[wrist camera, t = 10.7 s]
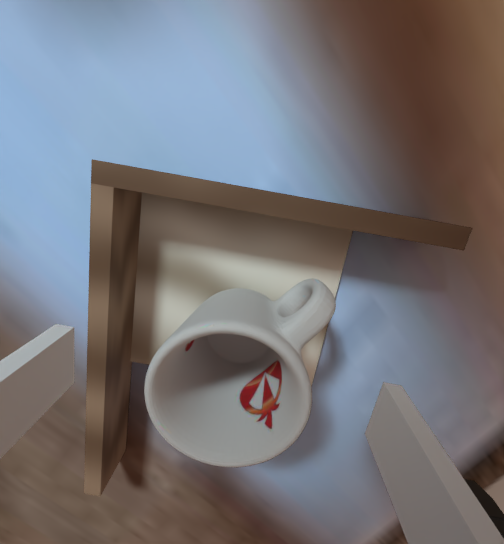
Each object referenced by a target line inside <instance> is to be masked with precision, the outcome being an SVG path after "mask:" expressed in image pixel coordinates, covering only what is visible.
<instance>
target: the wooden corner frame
mask: <svg viewBox="0 0 504 544" xmlns="http://www.w3.org/2000/svg"><path fill="white" fill-rule="evenodd" d="M471 230H472V228H470V227H464V226H459V225H453V224H448V223H442V222H437V221H431V220H426V219H420V218H414V217H409V216H403V215H398V214H392V213H387V212H381V211H375V210H370V209H364V208H359V207H353V206H348V205H342V204H337V203H331V202H325V201H320V200H314V199H309V198H303V197H298V196H292V195H287V194H281V193H275V192H270V191H264V190H259V189H253V188H248V187H242V186H237V185H231V184H225V183H220V182H214V181H209V180H203V179H198V178H192V177H186V176H181V175H175V174H170V173H164V172H159V171H153V170H148V169H142V168H136V167H131V166H125V165H120V164H114V163H109V162H103V161H98V160H92V171H91V215H90V259H89V303H88V347H87V391H86V434H85V478H84V494H90V495H95V496H101V494H102V492H103V491H104V489H105V487H106V485H107V483H108V481H109V480H110V478H111V476H112V474H113V472H114V471H115V469H116V467H117V465H118V463H119V461H120V460H121V458H122V456H123V454H124V452H125V450H126V440H127V426H128V412H129V397H130V383H131V369H132V362H137V363H142V364H148V365H150V363H151V361H152V359H153V357H154V355H155V354H156V352H157V351H158V349H159V348H160V347H161V346H162V344H163V343H164V342H165V341H166V340H167V339H168V338H169V337H170V336H171V335H172V334H173V333H174V332H175V331H176V330H177V329H178V328H179V327H180V326H181V325H182V324H183V323H184V321H185V320H186V319H187V318H188V317H189V316H190V315H191V314H192V313H193V312H194V311H195V310H196V309H197V308H198V307H199V306H200V305H201V304H202V303H203V302H204V301H205V300H207V299H208V298H209V297H211V296H213V295H214V294H216V293H218V292H221V291H224V290H228V289H234V288H243V289H250V290H253V291H257V292H259V293H261V294H263V295H265V296H266V297H268V298H269V299H271V300H272V301H275V300H277V299H279V298H280V297H281V296H283V295H284V294H285V293H286V292H287V291H288V290H290V289H291V288H292V287H294V286H295V285H296V284H298V283H299V282H301V281H303V280H306V279H310V278H314V279H318V280H320V281H321V282H323V283H324V284H325V285H326V286H327V287H328V288H329V290H330V291H331V292H332V293H333V296H334V298H335V296H336V293H337V289H338V285H339V281H340V278H341V274H342V270H343V266H344V263H345V259H346V255H347V251H348V248H349V244H350V240H351V236H352V233H353V231H359V232H364V233H370V234H375V235H381V236H387V237H392V238H398V239H403V240H409V241H414V242H420V243H425V244H431V245H437V246H442V247H448V248H453V249H459V250H464V249H465V246H466V244H467V241H468V238H469V236H470V233H471ZM328 323H329V322H328ZM327 326H328V324H327V325H326V326H325V327H324V328H323V329H322V330H321V331H320V332H319V333H318V334H317V335H316V336H315V337H313V338H312V339H311V340H310V341H309V342H308V343H306V344H305V345H304V347H303V348H302V350H301V356H302V359H303V362H304V365H305V367H306V370H307V372H308V375H309V379H310V383H311V386H312V383H313V379H314V375H315V371H316V368H317V364H318V360H319V356H320V353H321V349H322V345H323V341H324V338H325V334H326V330H327Z"/></svg>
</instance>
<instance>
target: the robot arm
mask: <svg viewBox="0 0 504 544" xmlns="http://www.w3.org/2000/svg"><path fill="white" fill-rule="evenodd" d="M74 382H75V370H74V327H70V326H64V325H58V324H55V325H54V326H52V327H51V328H49V329H48V330H46V331H45V332H43V333H42V334H40V335H39V336H37V337H36V338H34V339H33V340H31V341H30V342H28V343H27V344H25V345H24V346H22V347H21V348H19V349H18V350H16V351H15V352H13V353H12V354H10V355H9V356H7V357H6V358H4V359H3V360H1V361H0V459H1V458H2V457H3V456H4V455H5V454H6V453H7V451H8V450H9V449H10V448H11V447H12V446H13V445H14V444H15V443H16V442H17V441H18V440H19V439H20V438H21V437H22V436H23V435H24V434H25V433H26V432H27V431H28V430H29V429H30V428H31V427H32V426H33V425H34V424H35V423H36V422H37V421H38V420H39V418H40V417H41V416H42V415H43V414H44V413H45V412H46V411H47V410H48V409H49V408H50V407H51V406H52V405H53V404H54V403H55V402H56V401H57V400H58V399H59V398H60V397H61V396H62V395H63V394H64V393H65V392H66V391H67V390H68V389H69V388H70V386H71V385H72V384H73V383H74ZM365 435H366V438H367V441H368V443H369V446H370V448H371V451H372V453H373V456H374V458H375V461H376V463H377V466H378V469H379V471H380V474H381V476H382V479H383V481H384V484H385V486H386V489H387V491H388V494H389V497H390V499H391V502H392V504H393V507H394V509H395V512H396V514H397V517H398V519H399V522H400V525H401V527H402V530H403V532H404V535H405V537H406V540H407V542H408V544H504V514H503V512H502V511H501V510H500V509H499V507H498V506H497V504H496V503H495V501H494V500H493V499H492V498H491V497H490V496H489V495H488V494H487V493H486V492H485V491H484V490H483V489H482V488H481V487H480V486H479V485H478V484H477V483H476V482H475V481H473V480H467V479H463V477H462V476H461V474H460V473H459V471H458V470H457V468H456V467H455V465H454V464H453V462H452V461H451V459H450V458H449V456H448V455H447V453H446V452H445V450H444V449H443V447H442V446H441V444H440V443H439V441H438V440H437V438H436V437H435V435H434V434H433V432H432V431H431V429H430V428H429V426H428V425H427V423H426V422H425V420H424V419H423V417H422V416H421V414H420V413H419V411H418V410H417V408H416V407H415V405H414V404H413V402H412V401H411V399H410V398H409V396H408V395H407V393H406V392H405V390H404V389H403V387H402V386H401V385H396V384H390V383H384V382H383V385H382V388H381V390H380V393H379V396H378V399H377V401H376V404H375V407H374V410H373V412H372V415H371V418H370V421H369V424H368V426H367V429H366V432H365Z"/></svg>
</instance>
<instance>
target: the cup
mask: <svg viewBox="0 0 504 544" xmlns="http://www.w3.org/2000/svg"><path fill="white" fill-rule="evenodd" d="M335 307H336V303H335V298H334V296H333V293H332V292H331V291H330V290H329V288H328V287H327V286H326V285H325V284H324V283H323V282H321V281H320V280H318V279H314V278H310V279H306V280H303V281H301V282H299V283H298V284H296V285H295V286H294V287H292V288H291V289H290V290H288V291H287V292H286V293H285V294H284V295H283V296H281V297H280V298H279V299H277V300H275V301H272V300H271V299H269V298H268V297H266V296H265V295H263V294H261V293H259V292H257V291H253V290H250V289H243V288H234V289H228V290H224V291H221V292H218V293H216V294H214V295H213V296H211V297H209V298H208V299H207V300H205V301H204V302H203V303H202V304H201V305H200V306H199V307H198V308H197V309H196V310H195V311H194V312H193V313H192V314H191V315H190V316H189V317H188V318H187V319H186V320H185V321H184V323H183V324H182V325H181V326H180V327H179V328H178V329H177V330H176V331H175V332H174V333H173V334H172V335H171V336H170V337H169V338H168V339H167V340H166V341H165V342H164V343H163V344H162V346H161V347H160V348H159V349H158V351H157V352H156V354H155V355H154V357H153V359H152V361H151V363H150V365H149V368H148V371H147V374H146V378H145V386H144V395H145V402H146V407H147V411H148V413H149V416H150V418H151V420H152V422H153V424H154V426H155V427H156V429H157V430H158V432H159V433H160V434H161V435H162V437H163V438H164V439H165V440H166V441H167V442H168V443H169V444H171V445H172V446H173V447H174V448H175V449H177V450H178V451H180V452H181V453H183V454H185V455H186V456H188V457H190V458H192V459H194V460H197V461H200V462H203V463H206V464H209V465H214V466H220V467H245V466H252V465H255V464H259V463H262V462H265V461H268V460H270V459H272V458H274V457H276V456H278V455H279V454H281V453H282V452H284V451H285V450H286V449H287V448H289V447H290V446H291V445H292V444H293V443H294V442H295V441H296V440H297V438H298V437H299V436H300V434H301V433H302V431H303V429H304V428H305V426H306V423H307V421H308V418H309V415H310V411H311V405H312V389H311V383H310V379H309V375H308V372H307V370H306V367H305V365H304V362H303V359H302V356H301V350H302V348H303V347H304V345H305V344H306V343H308V342H309V341H310V340H311V339H312V338H313V337H315V336H316V335H317V334H318V333H319V332H320V331H321V330H322V329H323V328H324V327H325V326H326V325H327V324H328V322H329V321H330V320H331V318H332V316H333V314H334V311H335Z"/></svg>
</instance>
